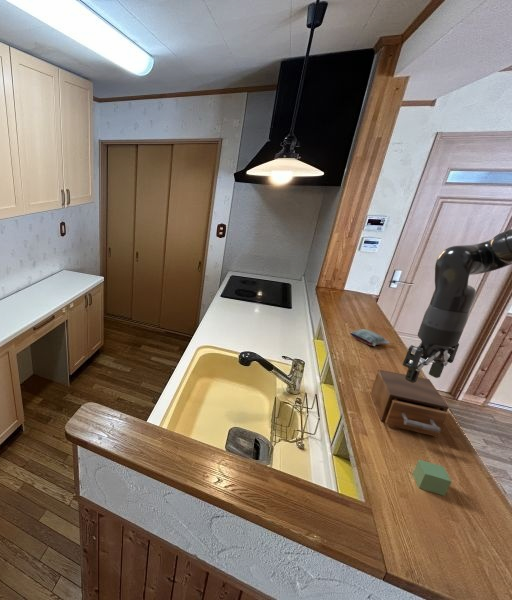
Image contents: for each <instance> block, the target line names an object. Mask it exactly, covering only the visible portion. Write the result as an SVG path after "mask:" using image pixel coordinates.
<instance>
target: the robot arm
mask: <svg viewBox="0 0 512 600" xmlns="http://www.w3.org/2000/svg"><path fill="white" fill-rule="evenodd" d="M511 265H512V228H510V229H507V230H505V231H502V232H500V233H498V234H496V235H495V236H493V238H492V239H489V240H486V241H482V242H480V243H479V242H478V243H475V244H461V245H453V246H449V247H447V248H445V249H444V250H443V251H441V253H439V255H438V257H437V259H436V261H435V266H434V291H433V293H432V296H431V298H430V302H429V304H428V306H427V308H426V310H425V312H424V315H423V318H422V320H421V323H420V326H419V329H418V332H417V338H418V339H420V341H421V342H420V343H419V345H418V346H415V345H410V346H409V347H408V349H407V351H406V355H405V357H404V360H403V362H402V366H403V367H405V368H407V371H406V374H405V375H406V377H405V379H406V380H408V381H410V382H412V383H414V382H416V381H417V378H418V377H419V375H420V371H421V370H422V369H423V368H424V367H426V366H428V365H430V364H431V365H430V367H429V368H430V369H429V371H428V375H429V376H430V377H433V378H435V379H438V378H441V376H442V373H443V372H444V371H443V370H444V369H445V367H447V366H448V364H452V363H454V360H455V357H456V355H457V353H458V349H459V347H460V343H459V342H460V339H461V337H462V335H463V332H464V329H465V327H466V325H467V323H468V320H469V313H470V311H471V308H472V306H473V303H474V301H475V298H476V294H477V291H476V289H475V287H473V286H471V285H469V279H470V278H469V277H470V276H471V275H472V276H473V275H480V274H486V273H489V272H493V271H496V270H501V269H502V268H506V267H508V266H511ZM431 362H432V363H431Z"/></svg>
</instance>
